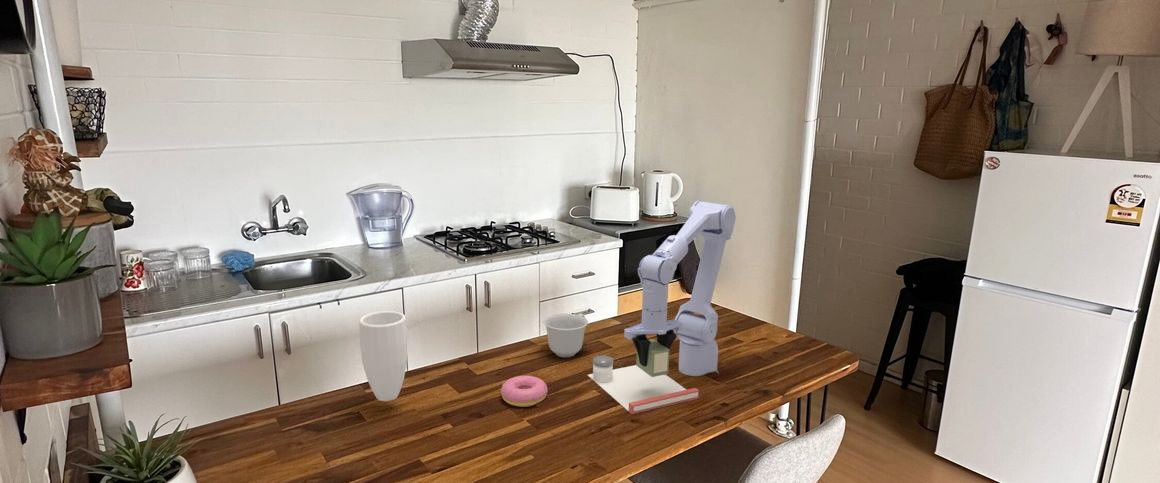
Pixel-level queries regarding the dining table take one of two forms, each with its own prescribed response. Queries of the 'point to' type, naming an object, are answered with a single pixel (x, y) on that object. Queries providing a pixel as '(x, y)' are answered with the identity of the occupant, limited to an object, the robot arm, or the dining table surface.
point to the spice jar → (602, 369)
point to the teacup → (565, 333)
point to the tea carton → (656, 360)
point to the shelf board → (645, 390)
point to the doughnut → (524, 391)
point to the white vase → (384, 352)
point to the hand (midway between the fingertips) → (652, 362)
